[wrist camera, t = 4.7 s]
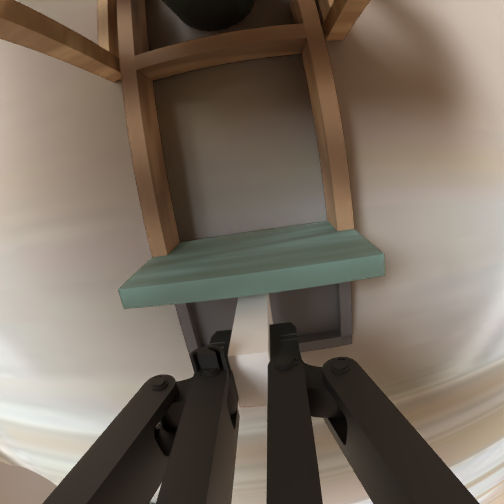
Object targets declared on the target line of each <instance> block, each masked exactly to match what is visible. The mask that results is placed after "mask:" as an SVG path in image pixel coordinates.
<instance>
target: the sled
mask: <svg viewBox="0 0 504 504" xmlns="http://www.w3.org/2000/svg"><path fill="white" fill-rule="evenodd" d="M289 2H290V6H291V10H292V14H293V19H294V23H295V24H288V25H277V26H268V27H260V28H252V29H246V30H239V31H233V32H227V33H222V34H217V35H211V36H207V37H202V38H197V39H193V40H189V41H185V42H181V43H177V44H173V45H169V46H166V47H162V48H159V49H155V50H152V51H149V45H148V34H147V23H146V10H145V0H117V27H118V44H119V58H120V70H121V80H122V90H123V99H124V107H125V115H126V123H127V130H128V137H129V143H130V150H131V156H132V162H133V168H134V173H135V179H136V184H137V190H138V195H139V200H140V205H141V210H142V215H143V219H144V224H145V229H146V233H147V237H148V242H149V246H150V250H151V255H152V258H151V259H150V260H149V261H148V262H147V263H146V264H145V265H144V266H142V267H141V268H140V269H139V270H138V271H137V272H136V273H135V274H134V275H133V276H132V277H131V278H130V279H129V280H128V281H127V282H125V283H124V284H123V285H122V286H121V287H120V288H119V289H118V291H119V294H120V298H121V301H122V304H123V307H124V309H129V308H140V307H151V306H162V305H172V304H181V303H191V302H200V301H209V300H218V299H226V298H235V297H243V296H251V295H259V294H266V293H274V292H281V291H289V290H296V289H303V288H310V287H316V286H323V285H330V284H336V283H343V282H349V281H355V280H361V279H368V278H374V277H380V276H385V260H384V253H383V252H381V251H380V250H379V249H378V248H377V247H376V246H374V245H373V244H372V243H371V242H370V241H368V240H367V239H366V238H365V237H364V236H362V235H361V234H360V233H359V232H357V231H356V230H355V229H354V221H353V210H352V200H351V190H350V181H349V173H348V165H347V157H346V150H345V143H344V136H343V129H342V123H341V117H340V111H339V105H338V100H337V94H336V89H335V84H334V79H333V74H332V69H331V65H330V60H329V55H328V51H327V47H326V42H325V38H324V34H323V30H322V26H321V22H320V18H319V14H318V11H317V7H316V3H315V0H289ZM291 54H302V59H303V64H304V68H305V73H306V79H307V84H308V89H309V94H310V100H311V106H312V111H313V117H314V123H315V129H316V136H317V142H318V149H319V156H320V163H321V170H322V178H323V185H324V193H325V202H326V211H327V220H328V221H324V222H317V223H309V224H302V225H295V226H288V227H280V228H273V229H266V230H259V231H252V232H245V233H239V234H232V235H225V236H218V237H212V238H205V239H199V240H192V241H186V242H180V240H179V235H178V231H177V226H176V221H175V216H174V211H173V206H172V201H171V195H170V190H169V185H168V179H167V174H166V168H165V162H164V156H163V150H162V144H161V138H160V131H159V125H158V118H157V111H156V104H155V96H154V89H153V80H157V79H160V78H164V77H168V76H172V75H175V74H179V73H184V72H188V71H192V70H196V69H201V68H206V67H210V66H215V65H221V64H226V63H232V62H237V61H244V60H250V59H257V58H264V57H272V56H281V55H291Z"/></svg>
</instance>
